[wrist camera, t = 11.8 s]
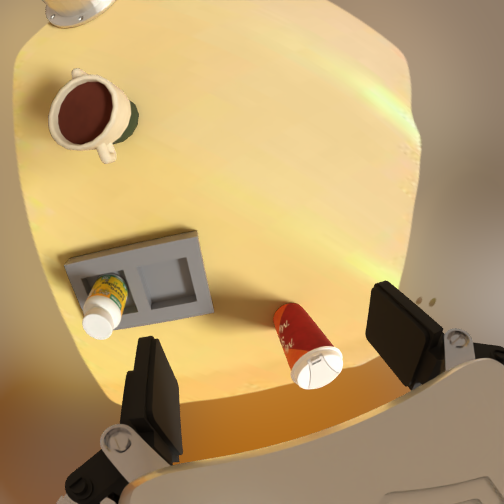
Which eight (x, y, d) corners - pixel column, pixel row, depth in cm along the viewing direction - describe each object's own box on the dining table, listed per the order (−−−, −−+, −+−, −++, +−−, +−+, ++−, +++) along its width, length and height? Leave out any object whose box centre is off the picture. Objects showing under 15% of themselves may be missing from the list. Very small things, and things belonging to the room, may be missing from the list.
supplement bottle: (90, 291, 37) (71, 329, 28) (104, 265, 36) (85, 301, 27) (119, 309, 39) (107, 350, 30) (135, 284, 38) (123, 324, 30)
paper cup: (260, 310, 45) (286, 370, 32) (302, 289, 45) (341, 343, 33) (275, 340, 48) (301, 399, 36) (314, 322, 49) (349, 375, 36)
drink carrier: (69, 258, 35) (63, 265, 33) (196, 230, 38) (197, 236, 36) (96, 323, 40) (93, 333, 38) (212, 303, 43) (214, 312, 40)
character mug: (81, 99, 27) (35, 84, 15) (128, 74, 28) (100, 43, 16) (107, 168, 32) (69, 184, 20) (155, 145, 32) (136, 147, 21)
